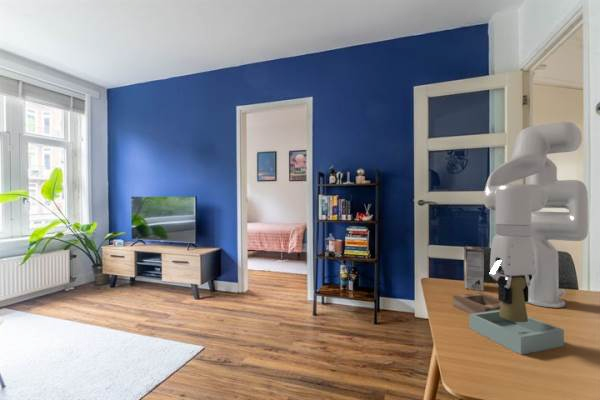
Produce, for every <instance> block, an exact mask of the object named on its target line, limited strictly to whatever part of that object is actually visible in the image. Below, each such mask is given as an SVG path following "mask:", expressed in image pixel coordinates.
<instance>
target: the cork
mask: <svg viewBox="0 0 600 400" xmlns="http://www.w3.org/2000/svg"><path fill="white" fill-rule="evenodd" d="M503 279H504V280H506V277H503ZM525 286H526V281H525V279H524V278H523V277H522V276H512V279H511V284H510V288H512V304H507V303H505V302H502V301H501V306H500V312H499V316H500V317H502V318H504V319H507V320H510V321H514V322H527V321H528V318H527V316H528V313H527V306H526V302H525V299H524V293H523V289H524V288H525Z"/></svg>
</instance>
